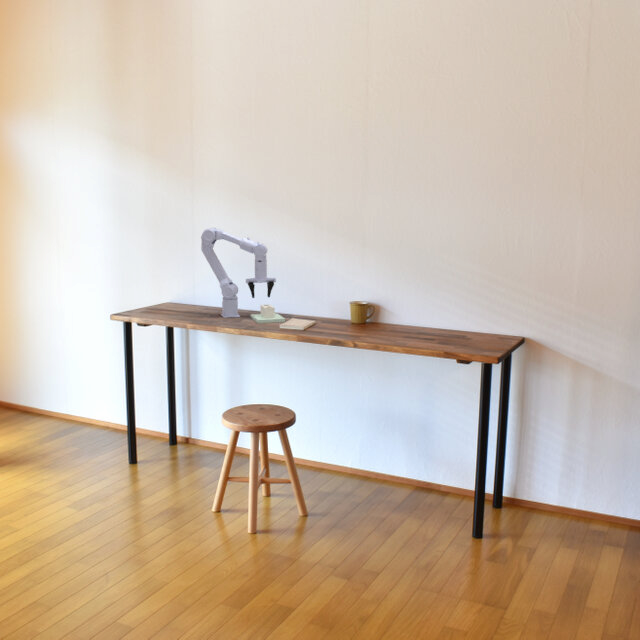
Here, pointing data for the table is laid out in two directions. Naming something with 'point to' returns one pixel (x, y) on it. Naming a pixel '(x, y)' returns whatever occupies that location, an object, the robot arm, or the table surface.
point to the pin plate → (260, 319)
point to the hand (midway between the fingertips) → (261, 297)
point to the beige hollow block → (267, 311)
